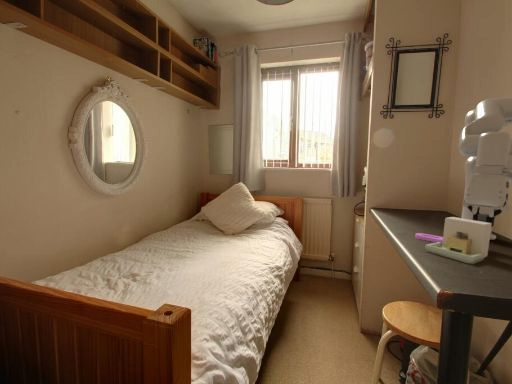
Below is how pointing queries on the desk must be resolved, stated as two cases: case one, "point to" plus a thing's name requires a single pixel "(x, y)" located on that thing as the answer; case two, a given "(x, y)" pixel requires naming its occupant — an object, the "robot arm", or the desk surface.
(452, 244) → the block
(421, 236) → the bracket
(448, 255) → the tray
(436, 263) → the desk surface
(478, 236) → the block
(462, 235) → the grey upright plate
